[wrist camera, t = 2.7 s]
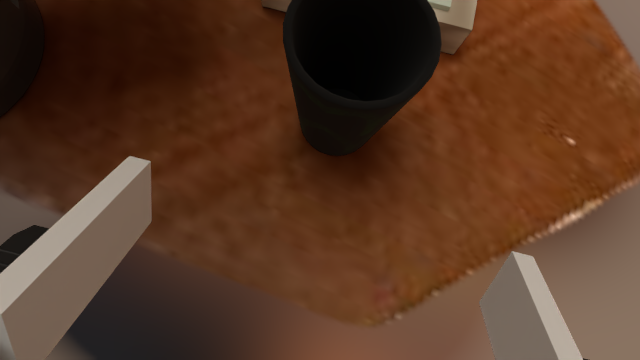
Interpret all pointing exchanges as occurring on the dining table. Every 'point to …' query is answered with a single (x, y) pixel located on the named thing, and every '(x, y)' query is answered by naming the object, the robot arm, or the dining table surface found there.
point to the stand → (451, 11)
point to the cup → (356, 65)
